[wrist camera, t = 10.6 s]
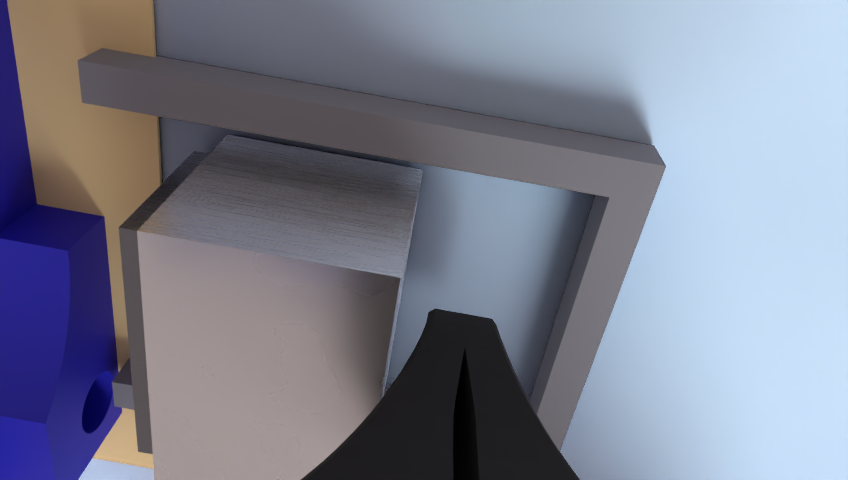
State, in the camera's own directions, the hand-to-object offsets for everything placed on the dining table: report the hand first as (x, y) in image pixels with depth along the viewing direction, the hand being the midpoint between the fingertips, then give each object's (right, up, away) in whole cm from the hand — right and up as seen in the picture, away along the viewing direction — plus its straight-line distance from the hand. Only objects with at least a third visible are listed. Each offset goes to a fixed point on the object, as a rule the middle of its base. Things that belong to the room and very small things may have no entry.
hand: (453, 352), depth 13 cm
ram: (-3, +2, +2) cm, 4 cm away
